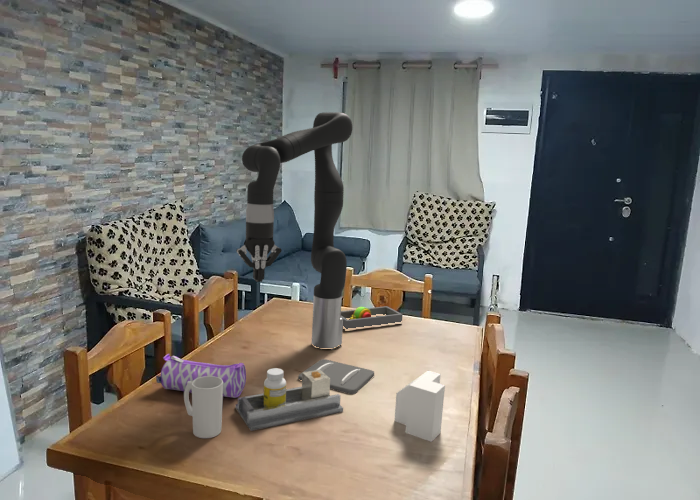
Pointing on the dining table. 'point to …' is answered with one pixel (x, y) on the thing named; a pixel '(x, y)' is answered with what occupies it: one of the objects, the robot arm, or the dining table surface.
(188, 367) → the pencil case
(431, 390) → the white notched block
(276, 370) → the supplement bottle
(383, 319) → the gray rectangular tray
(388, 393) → the dining table surface
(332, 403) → the rail tray
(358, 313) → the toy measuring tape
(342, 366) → the grey flat block
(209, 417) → the mug
